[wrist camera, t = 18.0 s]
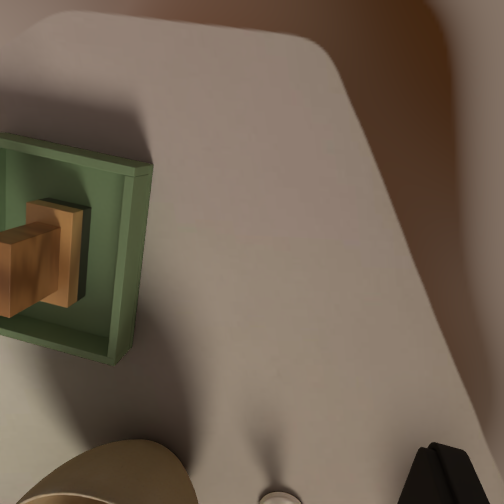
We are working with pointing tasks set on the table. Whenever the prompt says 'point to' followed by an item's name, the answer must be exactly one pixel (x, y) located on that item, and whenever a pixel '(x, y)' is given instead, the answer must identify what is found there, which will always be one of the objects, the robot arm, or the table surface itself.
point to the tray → (100, 242)
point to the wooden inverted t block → (45, 256)
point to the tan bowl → (117, 477)
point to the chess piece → (279, 498)
